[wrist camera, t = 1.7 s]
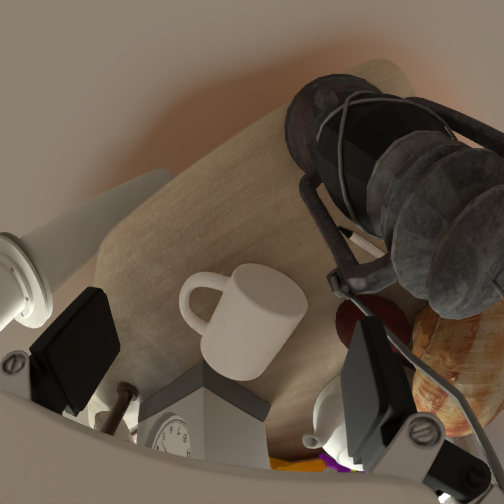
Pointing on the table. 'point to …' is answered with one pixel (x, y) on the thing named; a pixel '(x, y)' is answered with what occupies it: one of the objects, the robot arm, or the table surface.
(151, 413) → the alarm clock
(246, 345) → the mug
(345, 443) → the teapot
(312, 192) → the lantern
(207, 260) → the table surface
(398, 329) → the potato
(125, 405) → the walnut post
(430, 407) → the seashell
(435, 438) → the robot arm
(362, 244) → the pen
